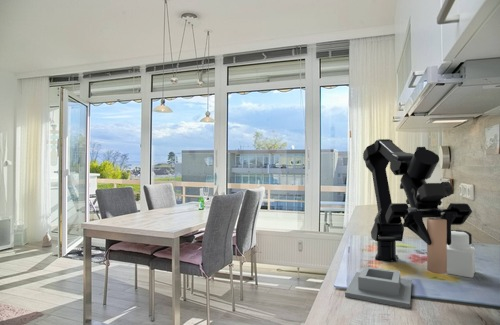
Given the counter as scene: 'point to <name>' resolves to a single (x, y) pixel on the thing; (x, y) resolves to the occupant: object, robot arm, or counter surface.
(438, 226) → the dowel
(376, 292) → the socket
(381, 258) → the robot arm
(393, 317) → the counter surface
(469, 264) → the medicine bottle
